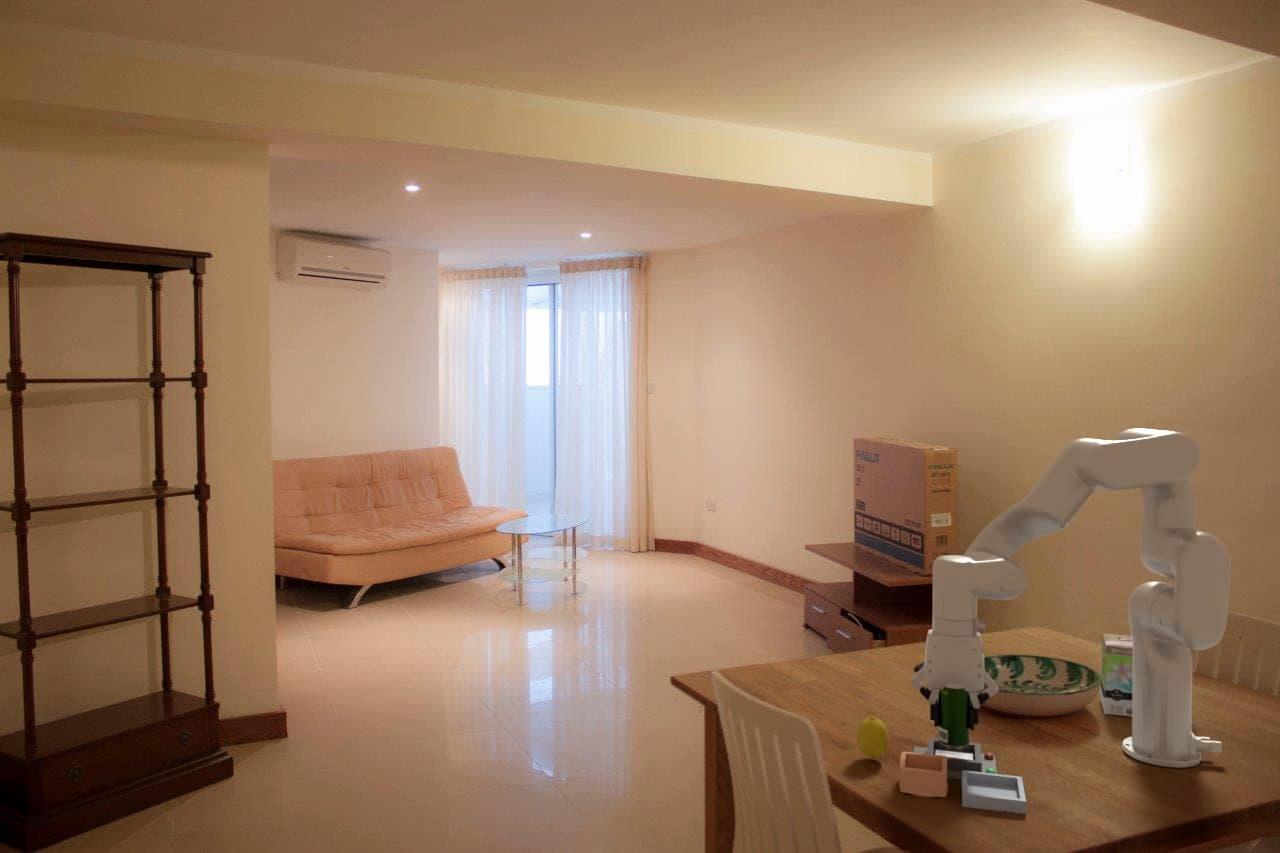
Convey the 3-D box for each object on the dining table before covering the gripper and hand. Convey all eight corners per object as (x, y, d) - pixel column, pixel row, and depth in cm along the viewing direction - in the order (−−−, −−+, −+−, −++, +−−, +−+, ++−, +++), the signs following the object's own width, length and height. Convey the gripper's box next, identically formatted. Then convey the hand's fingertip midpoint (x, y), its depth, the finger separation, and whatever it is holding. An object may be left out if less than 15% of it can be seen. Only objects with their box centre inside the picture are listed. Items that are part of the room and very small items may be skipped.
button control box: (994, 760, 170) (994, 744, 169) (997, 783, 160) (997, 766, 160) (914, 751, 174) (914, 735, 174) (912, 773, 164) (912, 756, 164)
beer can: (956, 752, 163) (957, 685, 162) (931, 742, 167) (931, 677, 167) (976, 745, 166) (976, 679, 165) (951, 736, 170) (951, 671, 170)
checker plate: (972, 756, 169) (972, 751, 169) (973, 770, 163) (973, 765, 163) (935, 752, 171) (935, 747, 171) (935, 766, 165) (935, 761, 165)
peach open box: (948, 780, 162) (948, 755, 161) (948, 800, 154) (948, 774, 154) (900, 774, 164) (900, 750, 164) (898, 794, 157) (897, 768, 156)
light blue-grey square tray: (1021, 788, 158) (1021, 776, 158) (1026, 814, 149) (1026, 801, 148) (961, 782, 161) (961, 770, 161) (962, 806, 152) (962, 793, 152)
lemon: (871, 768, 167) (871, 724, 167) (851, 757, 172) (850, 714, 171) (895, 761, 170) (894, 718, 169) (874, 751, 174) (874, 709, 174)
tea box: (1103, 716, 190) (1104, 644, 190) (1099, 700, 200) (1100, 632, 199) (1188, 725, 185) (1189, 651, 184) (1180, 708, 194) (1181, 638, 193)
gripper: (1004, 624, 166) (1004, 723, 167) (905, 617, 172) (905, 714, 173) (1007, 635, 159) (1006, 739, 160) (903, 627, 165) (903, 728, 166)
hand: (953, 725), depth 167 cm, fingers closed on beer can, 5 cm apart
